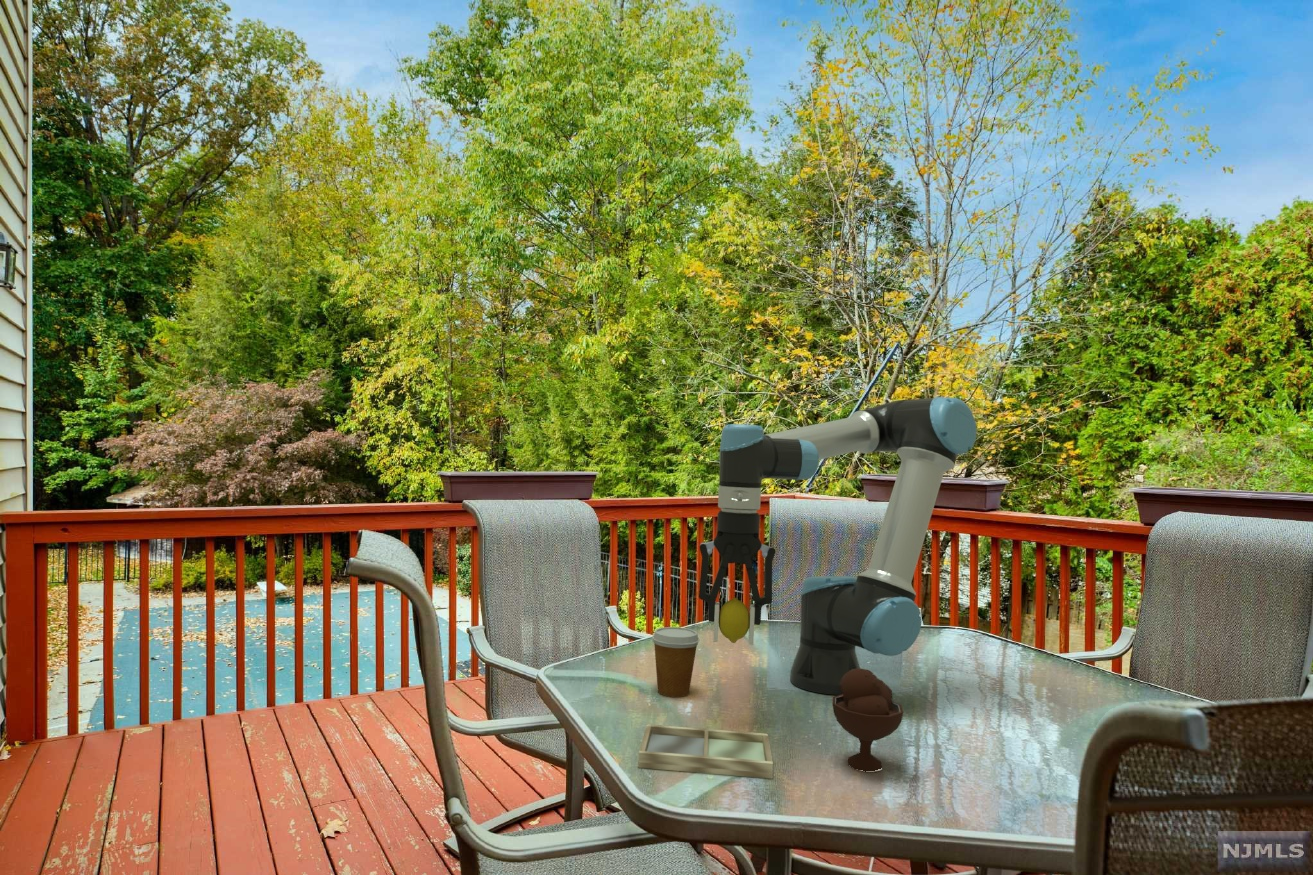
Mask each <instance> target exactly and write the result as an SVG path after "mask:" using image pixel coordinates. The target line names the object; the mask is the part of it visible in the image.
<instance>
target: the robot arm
mask: <svg viewBox="0 0 1313 875" xmlns="http://www.w3.org/2000/svg"><path fill="white" fill-rule="evenodd" d="M977 430H978V428H977V423H976V419H975V418H974V412H972V410H971V408H970V407H969V406H968V405H967V403H965V402H964V401H963V400H961V399H960V398H957V397H952V396H951V397H950V396H949V397H948V396H947V397H946V396H936V397H932V398H929V397H928V398H916V399H915V398H913V399H911V398H910V399H898V400H894V401H890V402H887V403H884V404H880V405H877V406H872V407H869V408H865V409H862V410H861V409H860V410H857V411H854V412H853V413H852V414H851V415H850V416H849V417H845V418H840V419H835V420H830V421H825V422H821V423H815V424H810V425H806V426H805V425H804V426H801V427H797V428H791V429H787V430H782V431H781V430H780V431H777V432H772V433H767V434H764V433H765V432H764V428H763V426H761V425H756V424H739V423H733V424H726V425H725V426H724V427H723V428H722V430H721V436H720V446H719V455H718V457H719V458H718V459H719V460H718V461H719V475H718V476H719V478H718V481H719V482H718V483H719V484H718V498H717V501H718V502H717V507H718V508H719V509H720V510H719V511H718V512H717V516H716V517H717V522H716V536H715V537H714V539H713V540H712V541H707V542H701V543H700V545H699V551H700V554H701V566H700V575H699V576H700V578H699V579H700V580H699V587H698V588H699V589H698V590H699V591H698V598H699V600H702V601H704V602H706V603H707V605H708V606H707V608H708V609H707V620H708V621H707V622H709V623H714V624H713V639H712V640H713V643H718V642H719V640H718V639H719V613H720V601H717V598H718V594H719V592H720V589H721V586H722V584H723V583H722V582H723V580H724V578H725V575H726V572H727V569H728V567H729V564H736V563H737V564H741V565H745V569H746V574H747V578H748V584H749V585H750V591H751V595H752V598H753V604H749V617H750V625H749V629H748V645H749V646H750V645H751V646H753V645H754V640H755V638H754V636H755V633H754V632H755V626H760V624H761V622H762V621H761V620H762V607H763V606H765V605H766V606H767V605H770V604H772V603H773V560H774V557H775V554H776V549H775V547H774V546H769V545H767V544H763V543H762V541H761V538H760V524H761V523H760V522H761V515H760V514H759V513H758V512H757V511H759V510H761V497H762V495H761V494H762V480H763V479H775V480H776V479H778V480H793V481H799V480H801V481H802V480H809V479H810V478H812V477H813V476H814V475H815V474H816V472H817V470H818V468H819V461H820V460H825V459H829V458H833V457H837V456H841V455H846V454H851V453H855V452H858V453H861V454H866V455H867V454H871V453H875V452H876V453H877V452H889V453H890V452H893V453H897V455H898V457H899V459H900V461H901V462H900V466H899V469H898V471H897V474H896V478H895V482H894V485H893V488H892V491H891V494H890V497H889V501H888V504H887V507H886V510H885V514H884V516H883V520H882V524H881V527H880V530H879V532H878V537H877V540H876V542H875V546H874V549H873V553H872V556H871V559H870V562H869V565H868V569H866V570H864V571H862V572H860V573H859V574H857V577H856V576H849V575H848V576H847V575H845V576H843V575H840V576H839V575H836V576H835V575H825V576H824V575H823V576H821V575H819V576H808V577H806V578H805V579H804V580H803V582H802V590H801V592H800V598H801V599H800V632H799V633H800V637H799V647H798V649H797V652H796V654H795V657H794V660H793V663H792V665H791V668H790V675H789V676H790V679H789V680H790V682H791V683H792V684H793V685H794V686H795V687H797V688H800V689H802V690H806V691H808V692H813V693H818V694H825V695H834V696H838V695H841V694H843V693H842V691H841V687H840V685H839V684H840V682H841V679H842V677H843V676H844V675H845V674H846V673H847V672H849V671H850V670H852V669H857V668H860V669H861V667H860V663H859V660H858V655H857V652H856V647H858V648H860V649H864V650H866V651H867V652H870V653H873V654H876V655H877V654H878V655H882V656H888V657H892V656H893V657H894V656H898V655H901V654H902V653H903V652H905V651H908V649H910V648H911V647H912V646H913V645H914V644H915V641H917V638H918V636H919V634H920V632H921V628H922V616H920V615H921V610H920V608H919V606H918V604H917V603H915V601H916V597H917V593H916V591H915V589H914V587H913V585H912V581H913V578H914V574H915V571H916V569H917V564H918V562H919V558H920V555H921V553H922V552H921V551H922V548H923V545H924V541H925V539H926V534H927V531H928V528H929V524H930V521H931V518H932V514H933V512H934V511H933V510H934V507H935V504H936V500H937V498H938V494H939V492H940V487H941V484H942V481H943V476H944V475H945V473H947V472H948V471H951V470H952V469H954V468H955V465H956V461H957V458H958V455H960V456H961V455H963V454H967V453H968V451H970V450H972V448H974V446H975V442H976V438H977ZM714 548H716V551H717V552H718V554H719V555H720V557H721V560H720V563H719V564H720V565H719V567H718V570H717V572H716V575H715V579H714V582H713V584H712V587H711V590H710V593H708V592H707V584H708V572H709V562H710V561H709V560H710V555H712V553H713V549H714ZM759 551H761V556H762V558H764V562H763V564H764V566H763V568H764V572H763V573H764V574H763V575H764V580H763V581H764V582H763V583H764V584H763V586H764V592H763V593H764V596H761V594H760V592H759V588H758V587H759V586H758V582H757V579H756V575H755V571H754V567H753V562H752V560H753V558H754V557H755V556H756V554H758V552H759Z"/></svg>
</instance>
